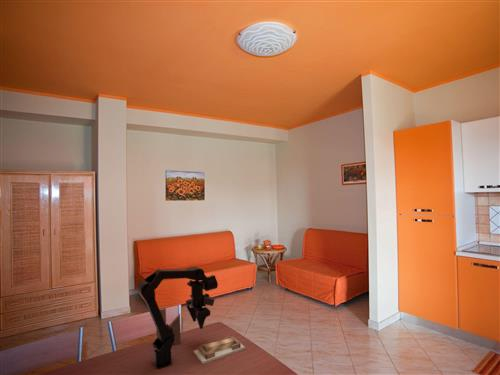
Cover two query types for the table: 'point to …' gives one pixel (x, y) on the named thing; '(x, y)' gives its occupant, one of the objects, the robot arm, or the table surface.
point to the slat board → (213, 355)
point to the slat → (219, 345)
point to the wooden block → (173, 325)
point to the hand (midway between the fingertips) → (197, 325)
